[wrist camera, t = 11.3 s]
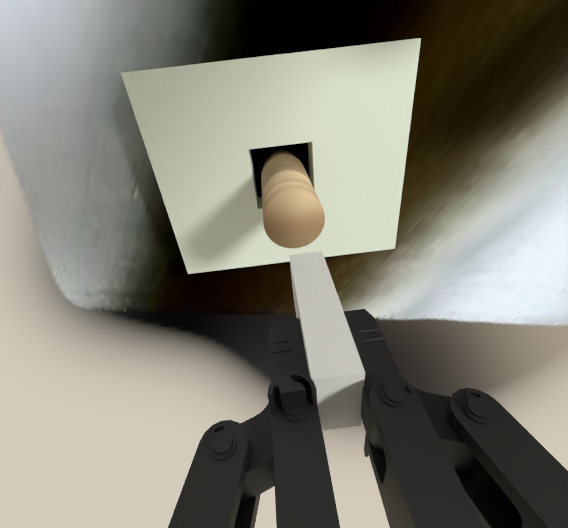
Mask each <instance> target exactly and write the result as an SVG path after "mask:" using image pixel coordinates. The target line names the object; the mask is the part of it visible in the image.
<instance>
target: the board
mask: <svg viewBox="0 0 568 528" xmlns="http://www.w3.org/2000/svg"><path fill="white" fill-rule="evenodd" d="M420 42H421V38H417V39H408V40H400V41H391V42H382V43H374V44H365V45H356V46H348V47H339V48H330V49H322V50H313V51H305V52H296V53H287V54H279V55H270V56H261V57H253V58H244V59H235V60H227V61H218V62H210V63H201V64H192V65H184V66H175V67H166V68H158V69H149V70H140V71H132V72H123V73H121V75H122V78H123V81H124V84H125V87H126V90H127V93H128V96H129V99H130V102H131V105H132V108H133V111H134V114H135V117H136V120H137V123H138V126H139V129H140V132H141V135H142V138H143V141H144V144H145V147H146V150H147V153H148V156H149V159H150V162H151V165H152V168H153V171H154V174H155V177H156V180H157V183H158V186H159V189H160V192H161V195H162V198H163V201H164V204H165V207H166V210H167V213H168V216H169V219H170V222H171V225H172V227H173V230H174V233H175V236H176V239H177V242H178V245H179V248H180V251H181V254H182V257H183V260H184V263H185V266H186V269H187V272H188V274H192V273H201V272H209V271H217V270H225V269H233V268H241V267H249V266H257V265H265V264H273V263H282V262H290V256H289V255H295V254H303V253H311V252H319V251H322V253H323V256H324V257H330V256H338V255H346V254H354V253H362V252H371V251H379V250H387V249H395V243H396V235H397V227H398V219H399V211H400V203H401V195H402V187H403V179H404V171H405V163H406V155H407V147H408V139H409V131H410V123H411V115H412V107H413V99H414V91H415V83H416V75H417V67H418V59H419V50H420ZM307 142H308V159H309V179H310V181H311V183H312V186H313V188H314V190H315V192H316V194H317V197H318V199H319V201H320V203H321V205H322V208H323V210H324V214H325V223H324V227H323V230H322V232H321V233H320V235H319V236H318V237H317V239H315V240H314V241H313V242H312V243H310V244H308V245H306V246H304V247H301V248H285V247H281V246H279V245H277V244H275V243H274V242H273V241H272V240H271V239H270V238H269V237H268V236H267V234H266V232H265V229H264V224H263V204H262V197H258V196H257V189H256V183H255V176H254V169H253V163H252V156H251V150H250V149H257V148H265V147H274V146H282V145H290V144H299V143H307Z"/></svg>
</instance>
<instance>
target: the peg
mask: <svg viewBox="0 0 568 528" xmlns="http://www.w3.org/2000/svg"><path fill="white" fill-rule="evenodd" d="M261 182H262V204H263V224H264V229H265V232H266V234H267V236H268V237H269V238H270V239H271V240H272V241H273V242H274V243H275V244H277V245H279V246H281V247H285V248H301V247H304V246H306V245H308V244H310V243H312V242H313V241H314V240H315V239H317V237H318V236H319V235H320V233H321V232H322V230H323V227H324V223H325V214H324V210H323V208H322V205H321V203H320V201H319V199H318V197H317V194H316V192H315V190H314V188H313V186H312V183H311V181H310V179H309V177H308V175H307V172H306V170H305V168H304V166H303V164H302V163H301V161H300V160H299V159H298V158H296V157H295V155H294V154H292V153H291V152H289V151H287V150H276V151H274V152H272V153H271V154H270V155H269V156H268V157H267V158H266V160H265V163H264V166H263V169H262V173H261Z"/></svg>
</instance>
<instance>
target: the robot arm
mask: <svg viewBox="0 0 568 528" xmlns="http://www.w3.org/2000/svg"><path fill="white" fill-rule="evenodd" d="M289 256H290V266H291V276H292V286H293V295H294V304H295V310H296V316H297V318H296V319H288V320H280V321H274V322H273V324H272V327H271V329H270V331H269V341H270V360H271V361H270V362H271V380H272V381H271V384H270V386H269V390H268V399H269V403H268V405H267V406H266V408H265V409H264V410H263V411H262V412H261V413H260V414H258V415H256V416H255V417H253V418H251V419H249V420H247V421H245V422H243V423H240V424H239V423H238V422H235V421H232V420H227V421H221V422H218V423H216V424H214V425H212V426H211V427H210V428H209V429H208V430H207V431H206V432H205V433H204V435H203V437H202V439H201V440H200V442H199V445H198V448H197V450H196V453H195V456H194V459H193V461H192V464H191V467H190V469H189V472H188V475H187V478H186V480H185V483H184V486H183V488H182V491H181V494H180V497H179V499H178V502H177V505H176V507H175V510H174V513H173V516H172V518H171V521H170V524H169V526H168V528H254V525H255V521H256V515H257V510H258V505H259V499H260V494H261V493H263V492H265V491H266V490H268V489H270V488H271V487H273V486H275V499H276V520H277V528H340V525H339V520H338V514H337V509H336V504H335V499H334V493H333V487H332V482H331V476H330V472H329V465H328V460H327V455H326V449H325V444H324V438H323V433H322V430H329V429H337V428H345V427H352V426H360V425H361V418H362V421H363V424H364V427H365V431H366V437H365V446H364V452H365V457H367V456H368V455H369V456H370V460H371V463H372V467H373V470H374V474H375V477H376V481H377V484H378V488H379V491H380V495H381V498H382V502H383V505H384V508H385V512H386V515H387V519H388V522H389V526H390V528H568V471H567V470H566V469H565V468H564V467H563V466H562V465H561V464H560V463H559V462H558V461H557V460H556V459H555V458H554V457H553V456H552V455H551V454H550V453H549V452H548V451H547V450H546V449H545V448H544V447H543V446H542V445H541V444H540V443H539V442H538V441H537V440H536V439H535V438H534V437H533V436H532V435H531V434H530V433H529V432H528V431H527V430H526V429H525V428H524V427H523V426H522V425H521V424H520V423H519V422H518V421H517V420H516V419H515V418H514V417H513V416H512V415H511V414H510V413H509V412H507V411H506V409H505V408H503V406H502V405H501V404H499V402H497V401H496V400H495V399H494V398H492V397H491V396H490V395H488V394H486V393H484V392H482V391H479V390H476V389H470V388H465V389H459V390H457V391H456V392H455V393H453V394H452V397H449V396H443V395H437V394H431V393H427V392H423V391H421V390H418V389H416V388H414V387H413V386H412V385H411V384H409V383H408V382H407V381H406V380H405V379H404V378H403V377H402V375H401V373H400V372H399V369H398V367H397V365H396V363H395V361H394V359H393V357H392V355H391V352H390V350H389V348H388V346H387V344H386V342H385V340H384V338H383V336H382V333H381V331H380V330H379V327H378V325H377V323H376V320H375V318H374V317H373V316H372V315H371V314H370V313H368V312H367V311H366V310H365V309H360V310H353V311H345V312H343V309H342V306H341V303H340V300H339V298H338V295H337V292H336V289H335V286H334V284H333V281H332V278H331V275H330V272H329V270H328V267H327V264H326V261H325V258H324V256H323V253H322V251H319V252H311V253H303V254H295V255H289Z"/></svg>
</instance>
